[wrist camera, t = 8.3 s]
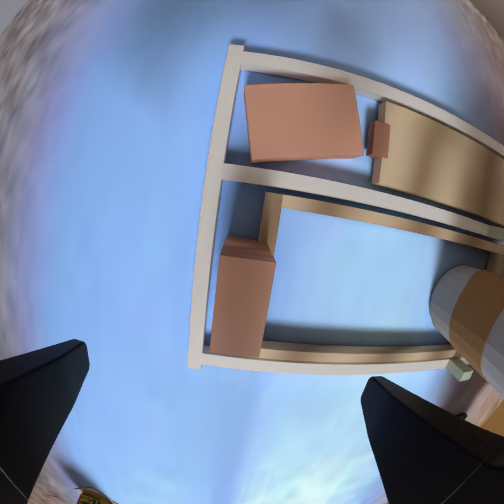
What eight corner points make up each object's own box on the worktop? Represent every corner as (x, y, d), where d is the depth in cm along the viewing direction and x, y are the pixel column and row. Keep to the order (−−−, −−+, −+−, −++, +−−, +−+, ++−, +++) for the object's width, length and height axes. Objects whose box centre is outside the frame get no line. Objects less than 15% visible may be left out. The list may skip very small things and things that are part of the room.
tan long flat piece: (537, 188, 18) (544, 189, 17) (531, 238, 19) (539, 240, 18) (368, 102, 17) (376, 96, 15) (361, 181, 18) (369, 180, 16)
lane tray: (541, 177, 18) (563, 178, 14) (501, 355, 22) (518, 369, 19) (229, 51, 16) (227, 24, 12) (190, 358, 20) (181, 388, 17)
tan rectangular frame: (496, 244, 19) (540, 257, 13) (464, 349, 21) (498, 377, 15) (234, 187, 18) (229, 184, 12) (215, 344, 20) (206, 396, 14)
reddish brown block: (341, 96, 17) (353, 85, 15) (350, 159, 18) (363, 155, 16) (244, 97, 17) (244, 85, 15) (250, 164, 18) (252, 159, 16)
